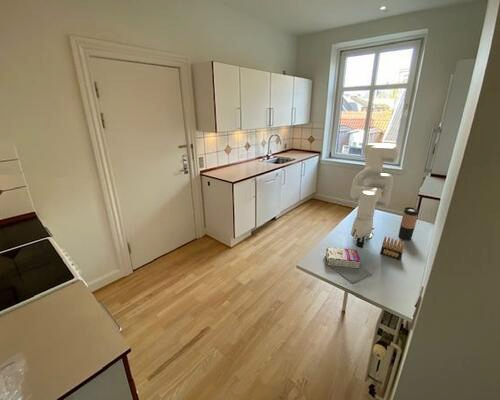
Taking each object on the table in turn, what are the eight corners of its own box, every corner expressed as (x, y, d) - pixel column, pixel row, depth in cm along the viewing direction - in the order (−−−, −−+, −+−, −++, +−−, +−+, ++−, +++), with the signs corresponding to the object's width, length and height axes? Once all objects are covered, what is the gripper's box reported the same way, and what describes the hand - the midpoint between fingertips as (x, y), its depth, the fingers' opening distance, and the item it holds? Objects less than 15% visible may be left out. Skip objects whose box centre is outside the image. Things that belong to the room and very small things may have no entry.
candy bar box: (355, 256, 137) (325, 253, 141) (356, 249, 135) (326, 246, 139) (359, 269, 127) (327, 265, 131) (360, 261, 125) (328, 257, 129)
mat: (344, 256, 139) (345, 255, 139) (372, 274, 124) (372, 273, 124) (326, 263, 133) (326, 262, 133) (352, 283, 118) (352, 282, 118)
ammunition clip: (401, 259, 136) (406, 240, 131) (400, 260, 134) (405, 242, 130) (380, 252, 142) (384, 234, 138) (379, 253, 141) (383, 236, 136)
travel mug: (398, 239, 155) (405, 211, 147) (397, 233, 161) (403, 206, 154) (412, 241, 152) (420, 213, 145) (410, 235, 159) (417, 208, 151)
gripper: (368, 209, 125) (363, 240, 132) (348, 215, 119) (343, 247, 126) (381, 215, 119) (375, 246, 126) (360, 221, 113) (355, 254, 120)
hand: (359, 246), depth 126 cm, fingers closed
